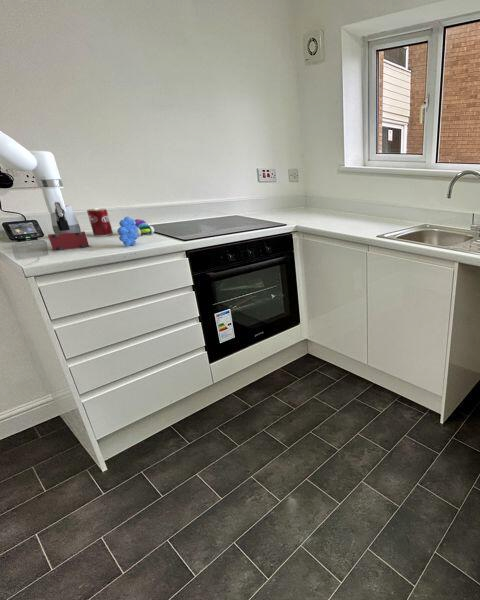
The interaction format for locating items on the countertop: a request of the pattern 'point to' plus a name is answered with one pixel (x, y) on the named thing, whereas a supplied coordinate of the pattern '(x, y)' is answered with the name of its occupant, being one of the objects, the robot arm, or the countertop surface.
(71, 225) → the smart speaker
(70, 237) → the red boxy piece
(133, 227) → the grapes
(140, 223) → the multicoloured rounded piece
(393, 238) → the countertop surface
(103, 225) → the soda can
